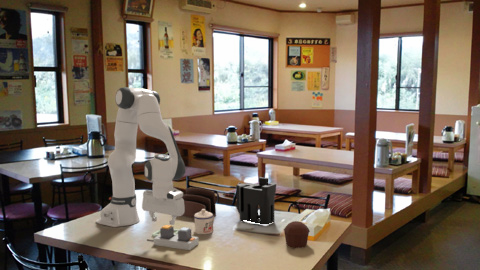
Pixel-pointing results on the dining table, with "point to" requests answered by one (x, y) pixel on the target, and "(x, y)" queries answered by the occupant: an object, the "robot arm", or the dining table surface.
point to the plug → (167, 232)
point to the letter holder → (198, 201)
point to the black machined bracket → (256, 201)
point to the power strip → (175, 242)
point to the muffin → (296, 234)
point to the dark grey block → (184, 234)
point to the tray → (159, 232)
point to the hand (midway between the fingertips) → (162, 222)
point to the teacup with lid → (204, 222)
